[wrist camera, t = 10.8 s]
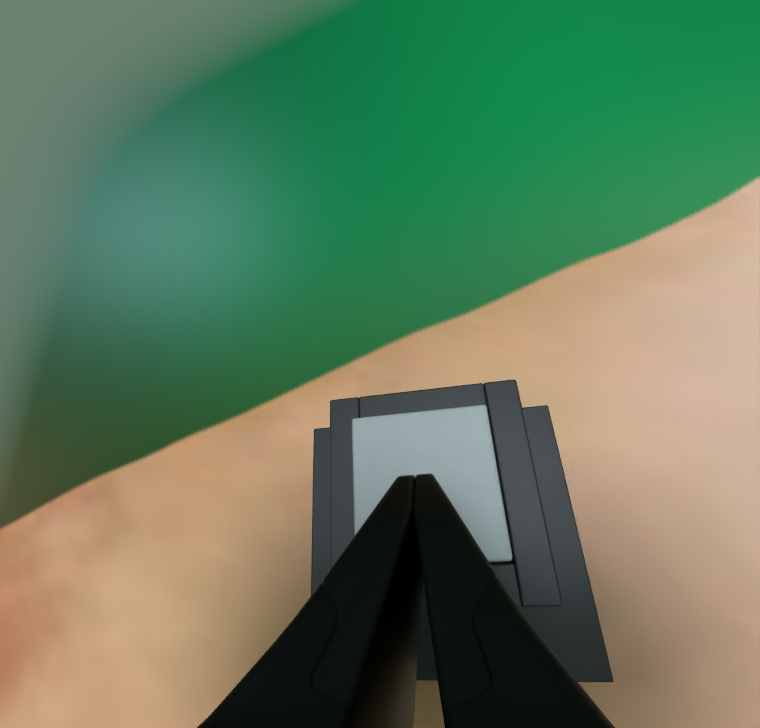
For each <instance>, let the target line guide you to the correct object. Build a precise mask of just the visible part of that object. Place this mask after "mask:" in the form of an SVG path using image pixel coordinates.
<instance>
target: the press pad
mask: <svg viewBox="0 0 760 728" xmlns="http://www.w3.org/2000/svg"><path fill="white" fill-rule="evenodd" d="M352 450H353V493H354V535H356V533H357V532H358V531H359V529H360V528H361V527H362V525H363V524H364V522H365V521H366V520H367V518H368V517H369V515H370V514H371V513H372V511H373V510H374V509H375V507H376V506H377V504H378V503H379V502H380V500H381V499H382V497H383V496H384V495H385V493H386V492H387V491H388V489H389V488H390V486H391V485H392V484H393V482H394V481H395V479H396V478H397V477H398V476H402V475H414V476H415V477H416V475H418V474H428V473H431V474H433V475H434V476H435V478H436V479H437V481H438V483H439V484H440V486H441V487H442V489H443V490H444V492H445V494H446V495H447V497H448V498H449V500H450V501H451V503H452V505H453V506H454V508H455V509H456V511H457V512H458V514H459V516H460V517H461V519H462V520H463V522H464V523H465V525H466V527H467V528H468V530H469V531H470V533H471V534H472V536H473V538H474V539H475V541H476V542H477V544H478V545H479V547H480V549H481V550H482V552H483V553H484V555H485V556H486V558H487V560H488V561H489V562H499V561H511V560H512V552H511V546H510V540H509V534H508V528H507V522H506V516H505V511H504V505H503V499H502V493H501V487H500V481H499V476H498V470H497V464H496V458H495V452H494V446H493V441H492V435H491V429H490V423H489V417H488V411H487V407H486V405H477V406H468V407H458V408H449V409H439V410H430V411H420V412H411V413H401V414H392V415H382V416H372V417H363V418H354V419H352Z"/></svg>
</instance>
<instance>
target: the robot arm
mask: <svg viewBox="0 0 760 728" xmlns="http://www.w3.org/2000/svg"><path fill="white" fill-rule="evenodd" d="M423 584H424V591H425V597H426V604H427V611H428V617H429V624H430V631H431V637H432V644H433V651H434V657H435V664H436V671H437V678H438V684H439V691H440V698H441V704H442V711H443V716H444V724H445V728H615V727H614V726H613V725H612V723H611V722H610V721H609V720H608V719H607V718H606V716H605V715H604V714H603V713H602V711H601V710H600V709H599V708H598V707H597V705H596V704H595V703H594V702H593V700H592V699H591V698H590V697H589V696H588V694H587V693H586V692H585V691H584V689H583V688H582V687H581V686H580V685H579V683H578V682H577V681H576V680H575V678H574V677H573V676H572V675H571V674H570V672H569V671H568V670H567V669H566V667H565V666H564V665H563V664H562V663H561V661H560V660H559V659H558V658H557V656H556V655H555V654H554V653H553V652H552V650H551V649H550V648H549V647H548V645H547V644H546V643H545V642H544V640H543V639H542V638H541V636H540V635H539V634H538V633H537V631H536V630H535V629H534V627H533V626H532V625H531V624H530V622H529V621H528V620H527V618H526V617H525V616H524V614H523V613H522V611H521V610H520V608H519V607H518V605H517V604H516V602H515V601H514V600H513V598H512V597H511V595H510V594H509V592H508V591H507V589H506V587H505V586H504V584H503V583H502V581H501V580H500V578H498V576H497V574H496V572H495V571H494V569H493V567H492V566H491V564H490V563H489V561H488V560H487V558H486V556H485V555H484V553H483V552H482V550H481V549H480V547H479V545H478V544H477V542H476V541H475V539H474V538H473V536H472V534H471V533H470V531H469V530H468V528H467V527H466V525H465V523H464V522H463V520H462V519H461V517H460V516H459V514H458V512H457V511H456V509H455V508H454V506H453V505H452V503H451V501H450V500H449V498H448V497H447V495H446V494H445V492H444V490H443V489H442V487H441V486H440V484H439V483H438V481H437V479H436V478H435V476H434V475H433V474H431V473H428V474H418V475H416V477H415V476H414V475H402V476H398V477H397V478H396V479H395V481H394V482H393V484H392V485H391V486H390V488H389V489H388V491H387V492H386V493H385V495H384V496H383V497H382V499H381V500H380V502H379V503H378V504H377V506H376V507H375V509H374V510H373V511H372V513H371V514H370V515H369V517H368V518H367V520H366V521H365V522H364V524H363V525H362V527H361V528H360V529H359V531H358V532H357V533H356V535H355V536H354V538H353V539H352V540H351V542H350V543H349V545H348V546H347V547H346V549H345V550H344V552H343V553H342V554H341V556H340V557H339V558H338V560H337V561H336V563H335V564H334V565H333V567H332V568H331V570H330V571H329V572H328V574H327V575H326V576H325V578H324V579H323V583H320V585H319V586H318V587H317V589H316V590H315V591H314V593H313V594H312V596H311V597H310V598H309V600H308V601H307V602H306V604H305V605H304V606H303V608H302V609H301V610H300V611H299V613H298V614H297V615H296V617H295V618H294V619H293V621H292V622H291V623H290V624H289V625H288V627H287V628H286V629H285V630H284V631H283V633H282V634H281V635H280V636H279V637H278V638H277V640H276V641H275V642H274V643H273V644H272V646H271V647H270V648H269V649H268V650H267V651H266V652H265V654H264V655H263V656H262V657H261V658H260V659H259V660H258V662H257V663H256V664H255V665H254V666H253V667H252V668H251V670H250V671H249V672H248V673H247V674H246V675H245V676H244V677H243V679H242V680H241V681H240V682H239V683H238V684H237V685H236V687H235V688H234V689H233V690H232V691H231V692H230V693H229V695H228V696H227V697H226V698H225V699H224V700H223V701H222V703H221V704H220V705H219V706H218V707H217V708H216V709H215V710H214V711H213V712H212V714H211V715H210V716H209V717H208V718H207V719H206V720H205V721H204V722H203V723H202V724H200V725H199V726H198V727H197V728H413V721H414V707H415V693H416V679H417V665H418V651H419V637H420V623H421V609H422V594H423Z"/></svg>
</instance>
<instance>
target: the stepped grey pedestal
mask: <svg viewBox="0 0 760 728" xmlns="http://www.w3.org/2000/svg"><path fill="white" fill-rule="evenodd" d="M477 405H486V407H487V411H488V417H489V423H490V429H491V435H492V441H493V446H494V452H495V458H496V464H497V470H498V476H499V481H500V487H501V493H502V499H503V505H504V511H505V516H506V522H507V528H508V534H509V540H510V546H511V552H512V560H511V561H499V562H489V563H490V564H491V566H492V567H493V569H494V571H495V572H496V574H497V576H498V578H500V580H501V581H502V583H503V584H504V586H505V587H506V589H507V591H508V592H509V594H510V595H511V597H512V598H513V600H514V601H515V602H516V604H517V605H518V607H519V608H520V610H521V611H522V613H523V614H524V616H525V617H526V618H527V620H528V621H529V622H530V624H531V625H532V626H533V627H534V629H535V630H536V631H537V633H538V634H539V635H540V636H541V638H542V639H543V640H544V642H545V643H546V644H547V645H548V647H549V648H550V649H551V650H552V652H553V653H554V654H555V655H556V656H557V658H558V659H559V660H560V661H561V663H562V664H563V665H564V666H565V667H566V669H567V670H568V671H569V672H570V674H571V675H572V676H573V677H574V678H575V680H576V681H577V682H613V677H612V672H611V668H610V664H609V660H608V656H607V652H606V647H605V643H604V639H603V635H602V631H601V626H600V622H599V618H598V614H597V610H596V605H595V601H594V597H593V593H592V589H591V584H590V580H589V576H588V572H587V568H586V563H585V559H584V555H583V551H582V547H581V543H580V538H579V534H578V530H577V526H576V522H575V517H574V513H573V509H572V505H571V501H570V496H569V492H568V488H567V484H566V480H565V475H564V471H563V467H562V463H561V459H560V455H559V450H558V446H557V442H556V438H555V434H554V429H553V425H552V421H551V417H550V413H549V408H548V406H547V405H545V406H535V407H526V408H522V406H521V401H520V396H519V391H518V387H517V382H516V380H506V381H497V382H489V383H484V385H483V384H482V383H479V384H471V385H462V386H453V387H444V388H436V389H427V390H418V391H409V392H401V393H392V394H383V395H374V396H365V397H360V398H357V397H356V398H347V399H338V400H331V401H330V428H320V429H314V457H313V514H312V572H311V596H312V594H313V593H314V591H315V590H316V589H317V587H318V586H319V585H320V583H323V579H324V578H325V576H326V575H327V574H328V572H329V571H330V570H331V568H332V567H333V565H334V564H335V563H336V561H337V560H338V558H339V557H340V556H341V554H342V553H343V552H344V550H345V549H346V547H347V546H348V545H349V543H350V542H351V540H352V539H353V538H354V536H355V535H354V493H353V450H352V419H354V418H363V417H372V416H382V415H392V414H401V413H411V412H420V411H430V410H439V409H449V408H458V407H468V406H477ZM416 680H438V678H437V671H436V664H435V657H434V651H433V644H432V637H431V631H430V624H429V617H428V611H427V604H426V597H425V591H424V584H423V594H422V609H421V623H420V637H419V651H418V665H417V679H416Z"/></svg>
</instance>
